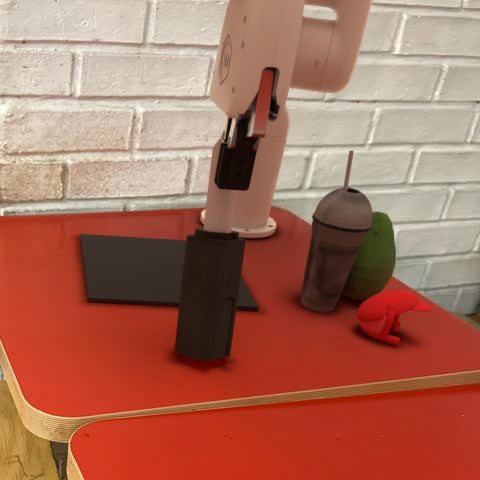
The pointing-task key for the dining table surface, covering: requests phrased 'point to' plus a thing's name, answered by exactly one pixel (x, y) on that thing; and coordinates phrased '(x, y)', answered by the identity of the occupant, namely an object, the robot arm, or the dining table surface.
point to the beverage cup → (334, 244)
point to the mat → (139, 271)
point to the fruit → (373, 260)
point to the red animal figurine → (387, 313)
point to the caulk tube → (210, 278)
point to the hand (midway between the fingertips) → (230, 187)
